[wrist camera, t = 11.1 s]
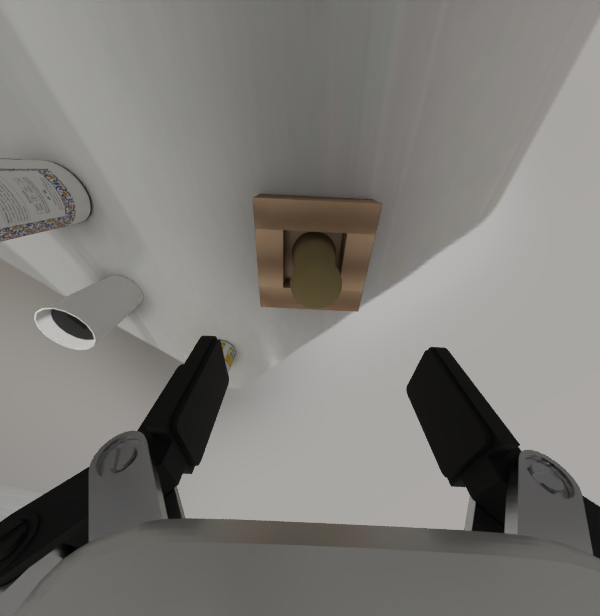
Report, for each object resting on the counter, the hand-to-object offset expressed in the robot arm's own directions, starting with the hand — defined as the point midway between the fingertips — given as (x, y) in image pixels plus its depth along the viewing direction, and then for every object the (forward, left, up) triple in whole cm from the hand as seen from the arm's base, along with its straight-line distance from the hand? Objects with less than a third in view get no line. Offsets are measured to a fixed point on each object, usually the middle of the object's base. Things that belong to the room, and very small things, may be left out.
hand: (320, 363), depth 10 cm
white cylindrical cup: (+10, -30, -23) cm, 39 cm away
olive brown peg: (+2, 0, -22) cm, 22 cm away
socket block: (+2, 0, -23) cm, 23 cm away
